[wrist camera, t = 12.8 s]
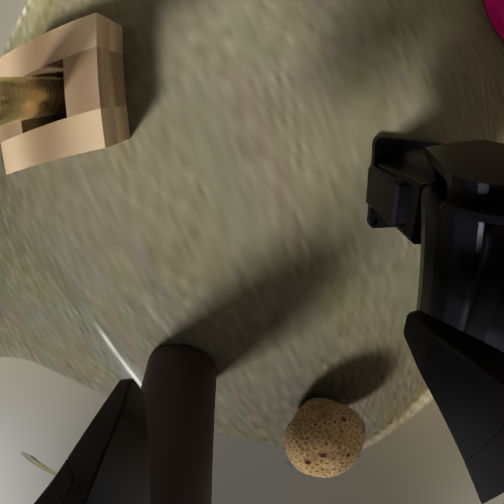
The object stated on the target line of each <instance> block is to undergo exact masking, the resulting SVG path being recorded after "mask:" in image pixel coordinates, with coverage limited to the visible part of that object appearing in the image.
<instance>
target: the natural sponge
mask: <svg viewBox="0 0 504 504" xmlns="http://www.w3.org/2000/svg"><path fill="white" fill-rule="evenodd" d="M365 434H366V428H365V424H364V421H363V420H362V418H361V417H360V416H359V415H358V413H357V412H355V411H354V410H353V409H351V408H350V407H348V406H346V405H344V404H341V403H338V402H336V401H332V400H330V399H327V398H320V397H317V398H312V399H310V400H308V401H306V402H305V403H304V404H303V405H302V406H301V407H300V409H299V410H298V411H297V413H296V414H295V416H294V417H293V419H292V421H291V422H290V423H289V424H288V426H287V428H286V430H285V432H284V437H283V444H284V447H285V451H286V453H287V456H288V458H289V460H290V462H291V463H292V464H293V465H294V466H295V467H296V468H297V469H298V470H299V471H301V472H303V473H305V474H308V475H311V476H317V477H322V478H323V477H324V478H326V477H333V476H336V475H339V474H341V473H343V472H345V471H346V470H348V469H349V468H350V467H351V466H352V465H353V464H354V463H355V461H356V460H357V458H358V456H359V455H360V452H361V450H362V447H363V442H364V438H365Z"/></svg>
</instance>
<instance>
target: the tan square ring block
mask: <svg viewBox="0 0 504 504" xmlns="http://www.w3.org/2000/svg"><path fill="white" fill-rule="evenodd" d="M61 74H63V75H64V91H65V102H66V112H67V118H65V119H62V120H59V121H55V115H50V116H44V117H39V118H34V119H28V120H24V121H19V122H14V123H10V124H6V125H2V126H0V140H1V147H2V153H3V159H4V164H5V169H6V174H9V173H12V172H15V171H19V170H22V169H25V168H28V167H31V166H35V165H38V164H42V163H45V162H49V161H52V160H56V159H60V158H64V157H68V156H72V155H76V154H80V153H84V152H89V151H93V150H98V149H102V148H106V147H109V146H111V145H114V144H116V143H119V142H121V141H124V140H127V139H129V138H130V131H129V122H128V113H127V103H126V91H125V78H124V62H123V35H122V26H121V25H120V24H118V23H116V22H114V21H112V20H110V19H109V18H107V17H105V16H103V15H101V14H99V13H97V12H96V13H93V14H90V15H87V16H84V17H82V18H79V19H77V20H74V21H72V22H69V23H67V24H64V25H62V26H60V27H57V28H55V29H53V30H51V31H49V32H47V33H44V34H42V35H40V36H38V37H36V38H34V39H32V40H30V41H29V42H27V43H25V44H23V45H21V46H19V47H17V48H16V49H14V50H12V51H10V52H9V53H7V54H5V55H4V56H2V57H0V77H56V76H59V75H61Z"/></svg>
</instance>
